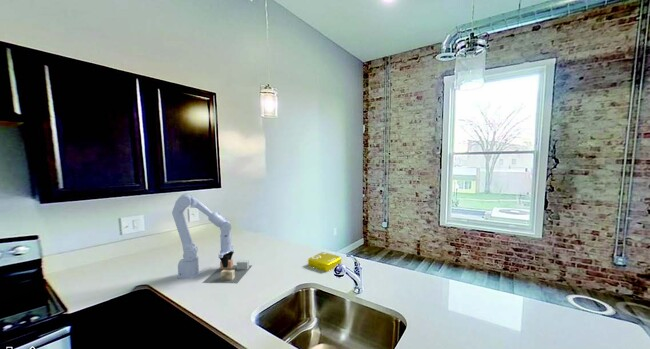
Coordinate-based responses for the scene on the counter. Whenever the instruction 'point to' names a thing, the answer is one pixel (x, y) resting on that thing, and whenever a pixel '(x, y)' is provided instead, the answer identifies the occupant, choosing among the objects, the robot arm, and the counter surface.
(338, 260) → the element tile
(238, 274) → the charcoal mat
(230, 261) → the terracotta brick
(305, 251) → the counter surface
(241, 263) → the grey brick
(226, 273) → the maple brick
